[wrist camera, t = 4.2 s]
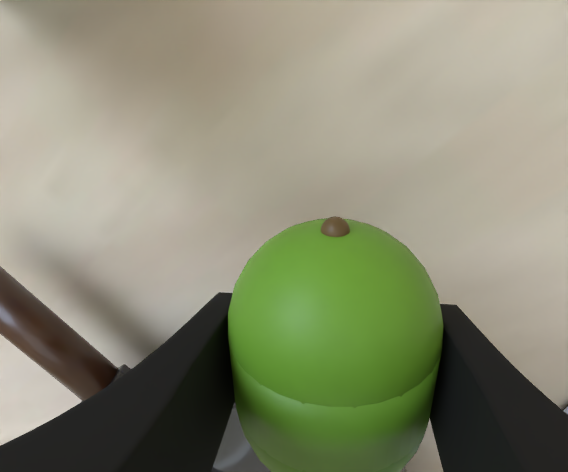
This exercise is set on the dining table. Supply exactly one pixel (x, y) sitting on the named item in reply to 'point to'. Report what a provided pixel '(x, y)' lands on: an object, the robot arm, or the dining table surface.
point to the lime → (334, 349)
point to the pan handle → (52, 341)
